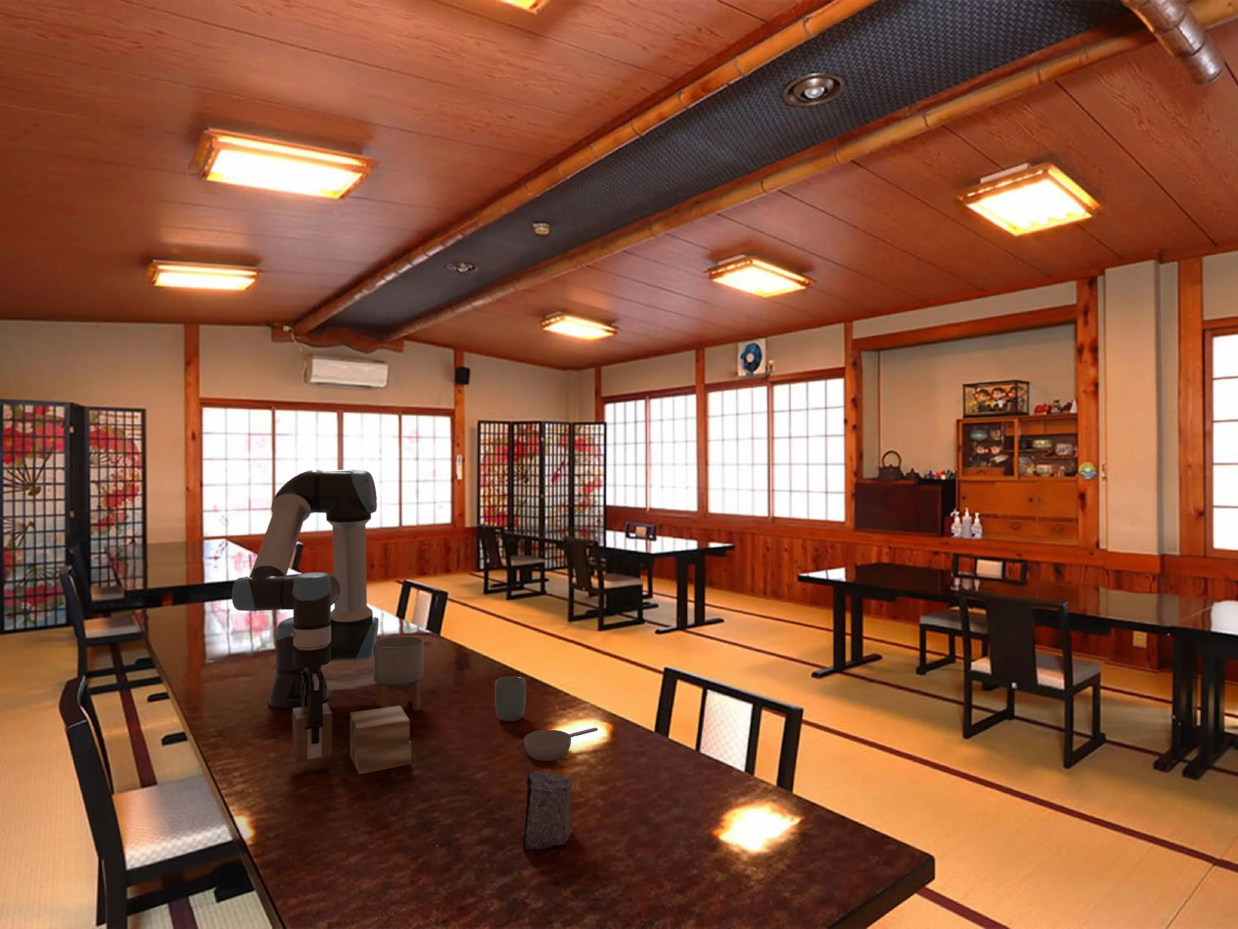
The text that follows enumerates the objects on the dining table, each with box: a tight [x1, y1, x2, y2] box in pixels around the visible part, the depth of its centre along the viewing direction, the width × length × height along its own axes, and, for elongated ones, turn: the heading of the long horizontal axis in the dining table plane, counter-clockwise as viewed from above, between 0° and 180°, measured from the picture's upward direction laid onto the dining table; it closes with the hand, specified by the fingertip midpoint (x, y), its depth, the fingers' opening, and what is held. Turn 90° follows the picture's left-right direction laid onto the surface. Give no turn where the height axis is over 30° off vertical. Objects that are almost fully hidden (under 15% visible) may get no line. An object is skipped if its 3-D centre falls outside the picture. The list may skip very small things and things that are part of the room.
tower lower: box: [349, 736, 412, 775], centre depth 162 cm, size 11×11×5 cm
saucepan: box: [523, 727, 599, 762], centre depth 168 cm, size 11×18×4 cm, turn 117°
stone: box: [522, 771, 573, 851], centre depth 128 cm, size 12×10×10 cm
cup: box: [494, 676, 527, 723], centre depth 188 cm, size 8×8×10 cm
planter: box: [372, 635, 424, 711], centre depth 197 cm, size 13×13×18 cm
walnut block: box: [292, 702, 333, 762], centre depth 157 cm, size 7×7×9 cm
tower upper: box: [349, 705, 411, 752], centre depth 161 cm, size 11×11×5 cm
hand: (312, 750), depth 157 cm, fingers closed on walnut block, 7 cm apart
